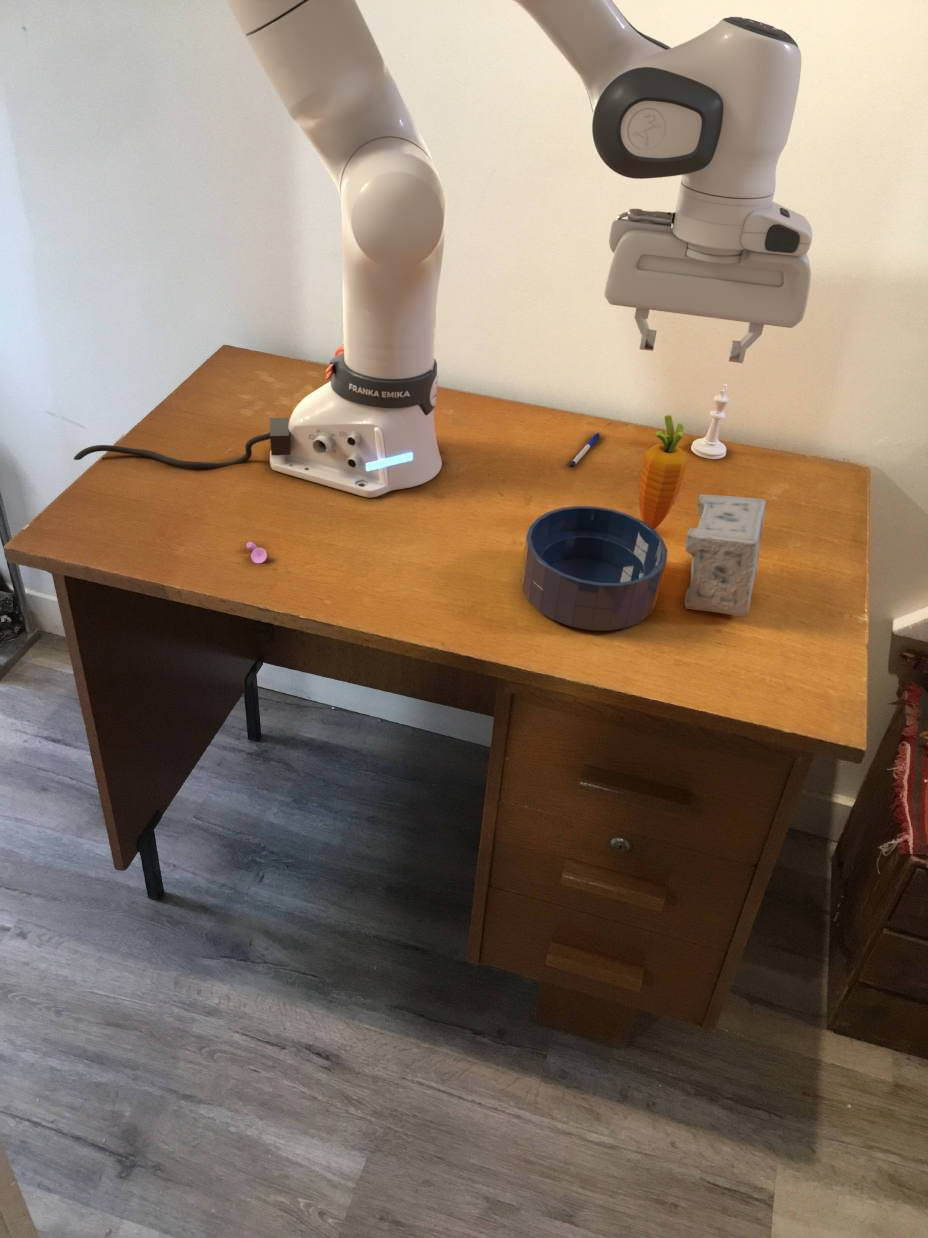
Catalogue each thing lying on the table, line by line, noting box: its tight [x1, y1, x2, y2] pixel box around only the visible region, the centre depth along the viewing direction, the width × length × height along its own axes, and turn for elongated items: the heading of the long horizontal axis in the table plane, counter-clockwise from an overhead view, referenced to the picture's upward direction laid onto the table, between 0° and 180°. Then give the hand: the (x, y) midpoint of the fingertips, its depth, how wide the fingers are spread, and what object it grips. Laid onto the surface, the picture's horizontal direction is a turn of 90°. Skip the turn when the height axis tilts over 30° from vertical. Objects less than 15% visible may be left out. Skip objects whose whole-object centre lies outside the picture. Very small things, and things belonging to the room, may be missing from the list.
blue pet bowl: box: [520, 505, 668, 632], centre depth 99 cm, size 15×15×6 cm
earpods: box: [246, 541, 268, 564], centre depth 102 cm, size 3×2×2 cm
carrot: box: [638, 414, 689, 531], centre depth 107 cm, size 5×5×15 cm
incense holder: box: [684, 493, 767, 617], centre depth 99 cm, size 10×8×10 cm
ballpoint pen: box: [569, 432, 601, 468], centre depth 126 cm, size 10×1×1 cm, turn 155°
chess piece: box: [690, 383, 730, 460], centre depth 126 cm, size 5×5×10 cm
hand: (690, 354), depth 97 cm, fingers open, 8 cm apart
